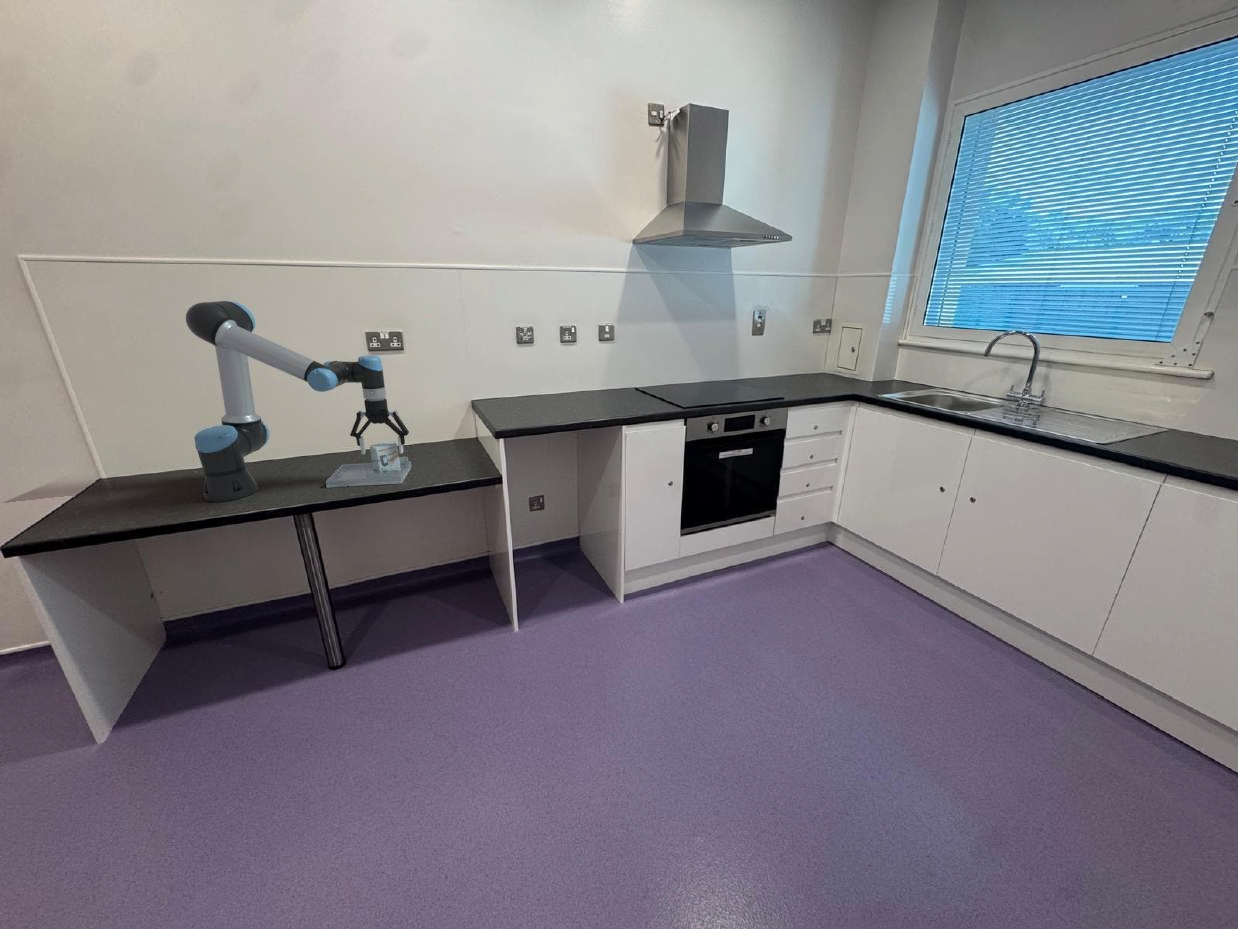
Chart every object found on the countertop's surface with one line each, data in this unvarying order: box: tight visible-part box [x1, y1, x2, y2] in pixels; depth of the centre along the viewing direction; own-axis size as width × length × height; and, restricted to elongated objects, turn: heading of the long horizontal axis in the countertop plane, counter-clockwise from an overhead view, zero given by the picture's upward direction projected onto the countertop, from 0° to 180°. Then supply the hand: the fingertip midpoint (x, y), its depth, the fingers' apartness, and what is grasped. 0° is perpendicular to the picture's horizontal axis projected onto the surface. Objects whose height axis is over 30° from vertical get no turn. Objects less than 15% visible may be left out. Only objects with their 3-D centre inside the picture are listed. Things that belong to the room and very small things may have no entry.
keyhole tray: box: [325, 456, 413, 489], centre depth 190 cm, size 26×18×4 cm
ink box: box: [369, 441, 401, 471], centre depth 190 cm, size 9×5×12 cm, turn 144°
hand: (382, 453), depth 189 cm, fingers open, 13 cm apart
